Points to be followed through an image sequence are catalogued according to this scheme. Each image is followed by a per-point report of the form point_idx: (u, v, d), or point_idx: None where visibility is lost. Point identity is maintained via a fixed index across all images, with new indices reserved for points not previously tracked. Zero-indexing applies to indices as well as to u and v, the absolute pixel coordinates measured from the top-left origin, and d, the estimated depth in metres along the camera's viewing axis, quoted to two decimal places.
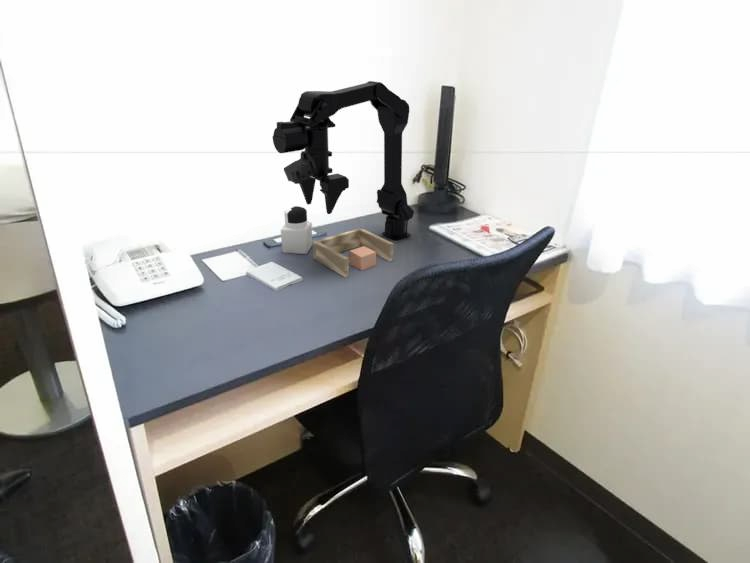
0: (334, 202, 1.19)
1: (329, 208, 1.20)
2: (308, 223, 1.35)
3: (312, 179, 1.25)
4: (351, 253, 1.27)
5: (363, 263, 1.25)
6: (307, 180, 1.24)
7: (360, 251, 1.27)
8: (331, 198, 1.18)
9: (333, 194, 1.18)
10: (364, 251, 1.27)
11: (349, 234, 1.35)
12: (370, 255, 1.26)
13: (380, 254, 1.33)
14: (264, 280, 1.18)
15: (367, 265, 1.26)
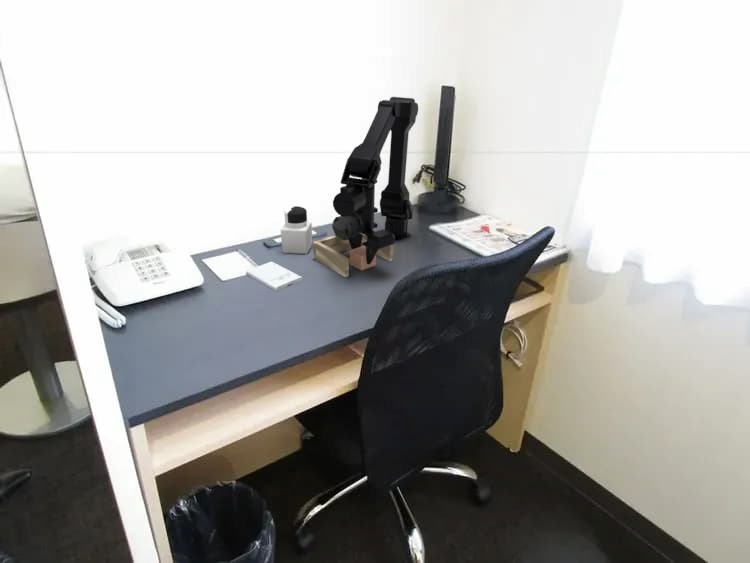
0: (374, 253, 1.25)
1: (370, 259, 1.25)
2: (308, 223, 1.35)
3: (360, 233, 1.28)
4: (351, 252, 1.27)
5: (363, 262, 1.25)
6: (355, 234, 1.27)
7: (360, 250, 1.27)
8: (372, 250, 1.23)
9: None
10: (364, 251, 1.26)
11: None
12: None
13: (380, 254, 1.33)
14: (264, 280, 1.18)
15: (367, 264, 1.26)
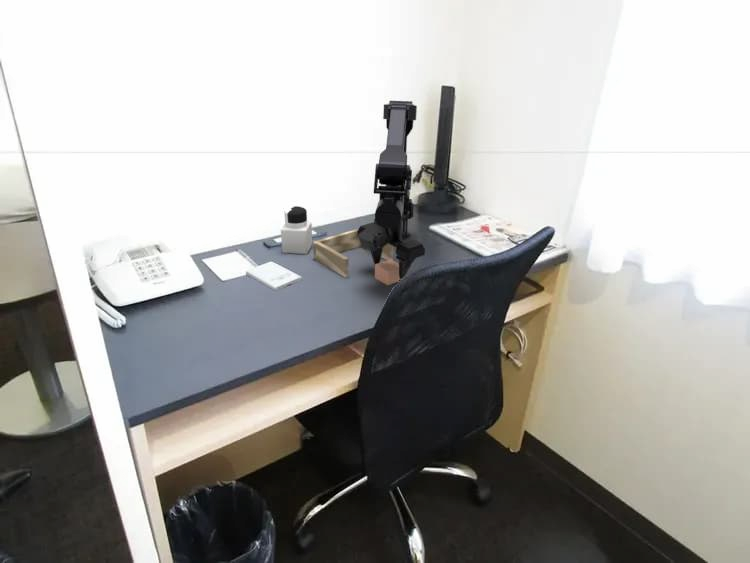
0: (407, 267, 1.16)
1: (402, 274, 1.16)
2: (308, 223, 1.35)
3: None
4: (377, 267, 1.20)
5: (390, 277, 1.18)
6: None
7: (386, 265, 1.20)
8: (405, 264, 1.15)
9: None
10: (391, 265, 1.20)
11: (349, 234, 1.35)
12: (397, 269, 1.19)
13: None
14: (263, 279, 1.18)
15: (394, 280, 1.19)
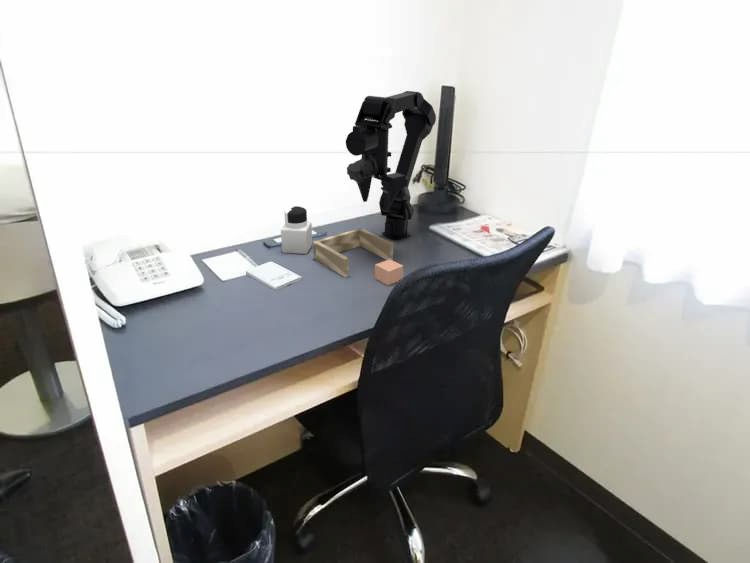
0: (392, 199, 1.27)
1: (388, 206, 1.27)
2: (308, 223, 1.35)
3: (369, 178, 1.33)
4: (377, 267, 1.20)
5: (390, 277, 1.18)
6: (364, 179, 1.32)
7: (386, 265, 1.20)
8: (390, 196, 1.25)
9: (392, 192, 1.25)
10: (391, 265, 1.20)
11: (349, 234, 1.35)
12: (397, 269, 1.19)
13: (380, 254, 1.33)
14: (263, 279, 1.18)
15: (394, 280, 1.19)
